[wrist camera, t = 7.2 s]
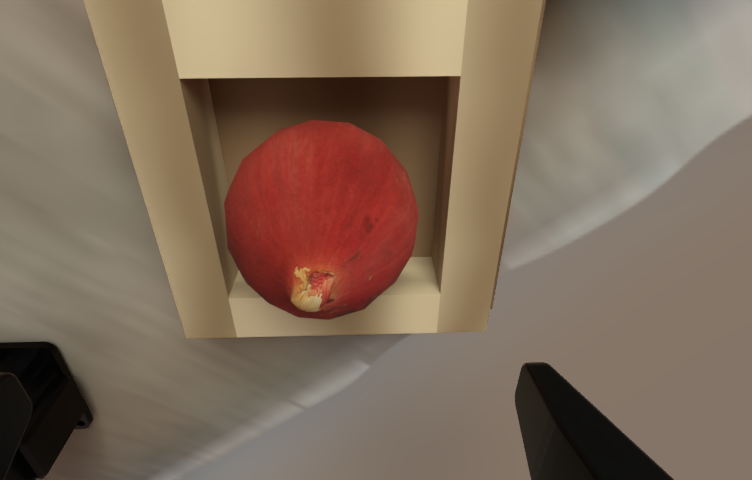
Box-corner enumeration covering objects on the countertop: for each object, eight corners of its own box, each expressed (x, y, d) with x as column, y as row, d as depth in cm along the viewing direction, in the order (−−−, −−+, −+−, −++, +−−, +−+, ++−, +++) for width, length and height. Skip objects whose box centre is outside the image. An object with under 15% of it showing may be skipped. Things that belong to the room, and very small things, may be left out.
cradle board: (196, 293, 22) (167, 357, 19) (105, -48, 15) (28, -46, 11) (484, 287, 23) (506, 348, 19) (536, -49, 15) (589, -48, 12)
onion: (421, 215, 18) (459, 367, 12) (287, 251, 19) (249, 415, 12) (382, 70, 15) (402, 163, 9) (224, 119, 16) (129, 241, 9)
